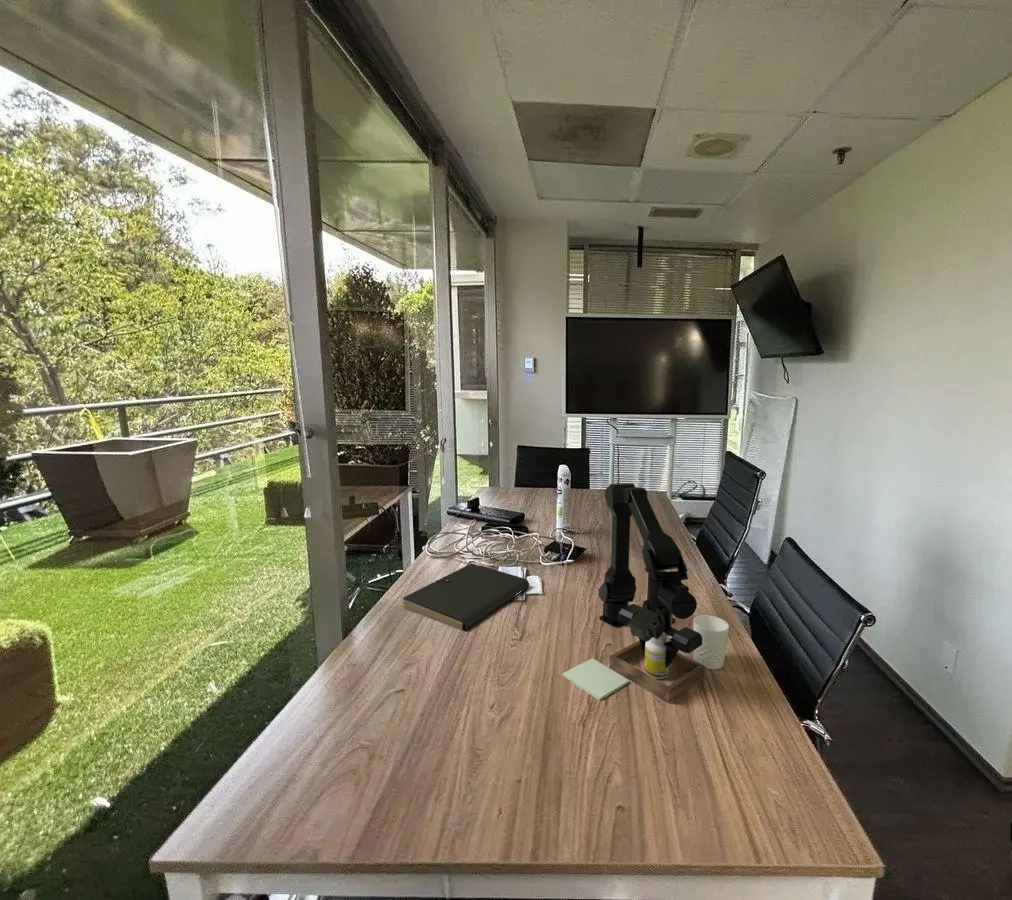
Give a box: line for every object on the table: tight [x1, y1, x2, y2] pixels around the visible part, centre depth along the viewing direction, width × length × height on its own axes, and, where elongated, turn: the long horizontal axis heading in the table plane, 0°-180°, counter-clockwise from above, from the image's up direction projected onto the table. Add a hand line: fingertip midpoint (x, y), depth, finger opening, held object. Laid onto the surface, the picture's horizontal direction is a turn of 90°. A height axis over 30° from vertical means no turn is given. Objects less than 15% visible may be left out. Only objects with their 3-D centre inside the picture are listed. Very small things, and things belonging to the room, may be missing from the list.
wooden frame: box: [608, 640, 706, 704], centre depth 113 cm, size 16×14×3 cm
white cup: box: [692, 614, 730, 670], centre depth 117 cm, size 8×8×10 cm
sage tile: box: [562, 657, 630, 701], centre depth 110 cm, size 11×10×1 cm
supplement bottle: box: [643, 634, 670, 680], centre depth 112 cm, size 5×5×10 cm
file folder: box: [402, 562, 530, 632], centre depth 151 cm, size 33×4×24 cm
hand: (656, 660), depth 112 cm, fingers closed on supplement bottle, 5 cm apart
